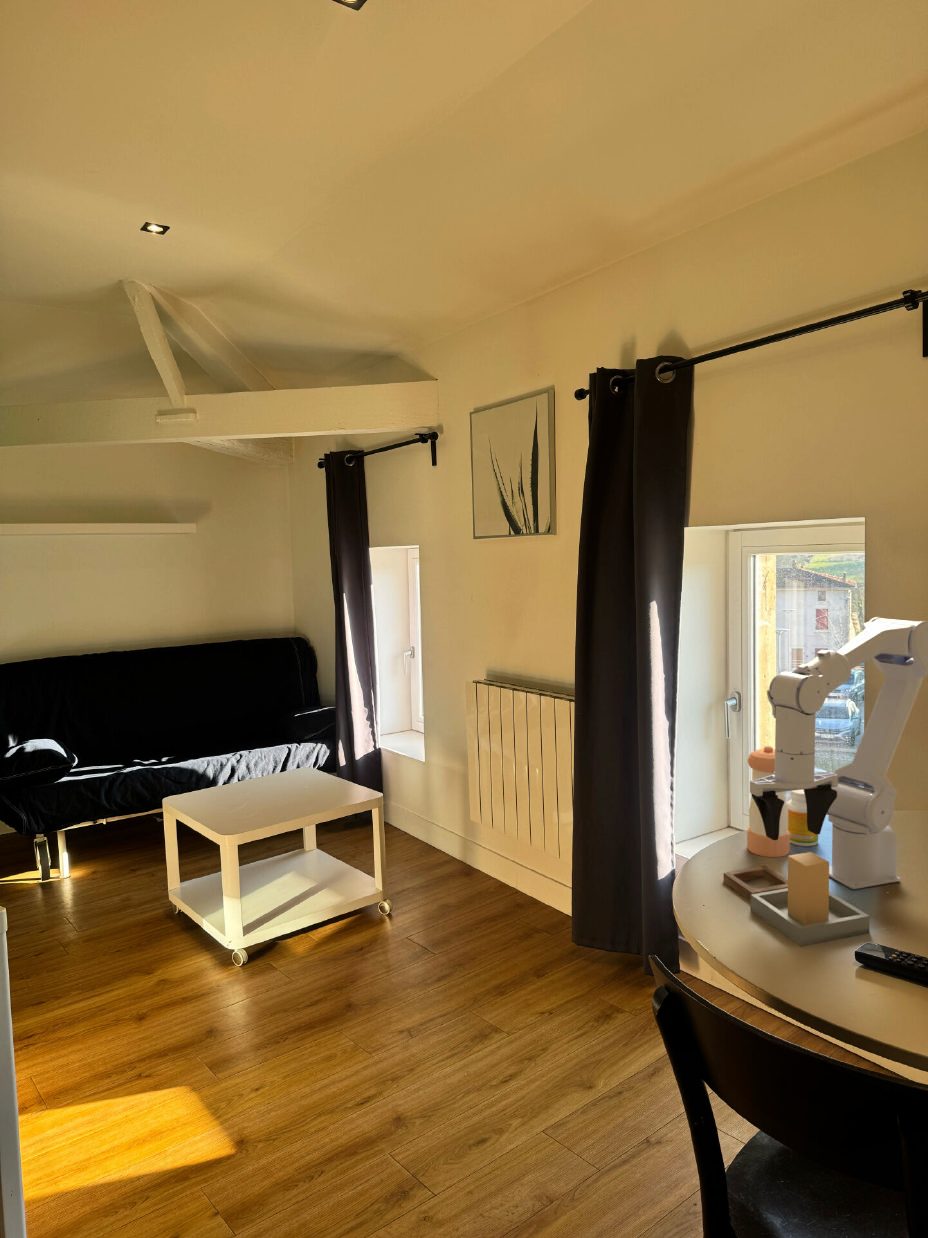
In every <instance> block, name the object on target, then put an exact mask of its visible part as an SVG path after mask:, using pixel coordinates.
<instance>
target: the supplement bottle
mask: <svg viewBox="0 0 928 1238" xmlns="http://www.w3.org/2000/svg"><path fill="white" fill-rule="evenodd" d="M790 798H791V799H790V800H788V802H786V804H787V810H788V828H787V830H788V831H789V832H790V844H793V845H795V846H800V847H812V846H816V845H817V844H818V843H819V834H818V835H816V834H814V833H812V832H810V831H808V827H807V805H806V798H805V793H804V789H802V790H793V791H790Z"/></svg>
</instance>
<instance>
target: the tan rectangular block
mask: <svg viewBox="0 0 928 1238" xmlns="http://www.w3.org/2000/svg"><path fill="white" fill-rule="evenodd" d="M829 866H830V862H829V861H828V860H826V859H825V858H822V857H821V856H819V855H817V854H815V853H814V852H812V851H807V852H802V853H795V854H792V855H791V854H789V855H787V880H788V914H790V915H791V916H793V917H794V918H796V919H797V920H799V921H800V922H802V923H803V924H804V925H808V924H813V923H818V922H824V921H829V892H830V876H829Z"/></svg>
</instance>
